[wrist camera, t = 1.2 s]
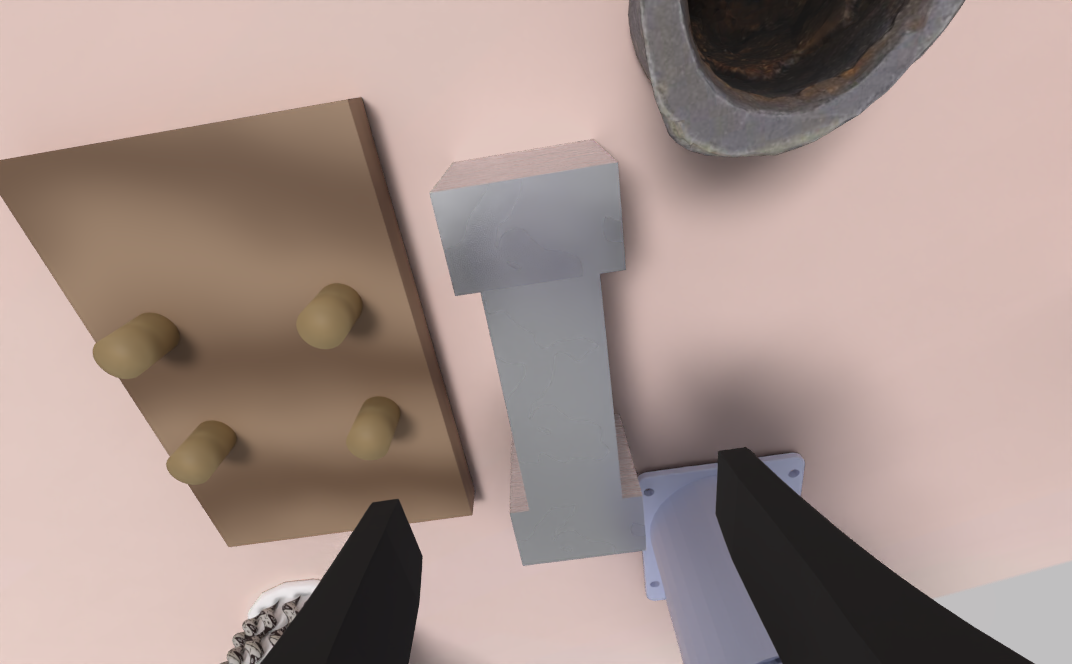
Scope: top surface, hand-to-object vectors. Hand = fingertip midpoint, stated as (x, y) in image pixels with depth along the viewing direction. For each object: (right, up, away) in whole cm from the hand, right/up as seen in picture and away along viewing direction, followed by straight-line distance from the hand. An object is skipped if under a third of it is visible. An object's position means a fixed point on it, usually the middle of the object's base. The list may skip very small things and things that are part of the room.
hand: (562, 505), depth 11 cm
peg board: (-11, +3, +10) cm, 15 cm away
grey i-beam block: (0, +4, +10) cm, 10 cm away
